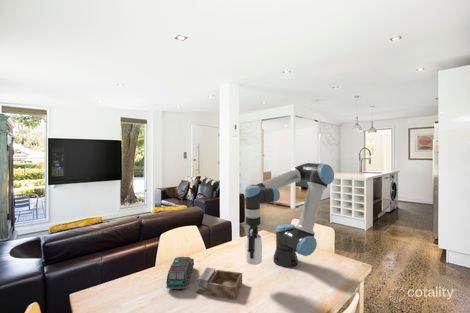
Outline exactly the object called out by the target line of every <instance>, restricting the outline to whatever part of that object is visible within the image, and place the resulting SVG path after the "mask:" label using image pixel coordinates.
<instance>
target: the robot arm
mask: <svg viewBox="0 0 470 313" xmlns="http://www.w3.org/2000/svg"><path fill="white" fill-rule="evenodd" d="M334 179H335V172H334V169H333V167H332V166H331V165H329V164H326V163H316V162H315V163H314V162H313V163H312V162H307V163H303V164H300V165H297V166H295V167H292V168H291V169H290V170H289V171H287V172H284V173H281V174H279V175H277V176H274V177H272V178H269V179H267V180H263V181H262V182H259V183H256V184H249V185H248V186H246V187H245V190H244V192H245V193H244V197H245V199H244V200H245V202H244V203H245V209H244V212H245V224H246V225H247V226H249V228H248V234H249V247H248V252H249V259H250V264H249V265H251V264H254V265H253V266H256V265H255V250H254V248H255V238H257V234H258V235H259V230H258V228H259V227H258V226H260V225H261V205H263V204H268V203H275V202H278V201H279V200H280V198H281V194H280V190H279V189H282V188H284V187H286V186H289V185H291V184H294V183H300V182H306V183H307V185H308V188H307V190H306V195H305V199H304V202H303V206H302V210H301V214H300V217H299V220H298V224H297V225H295V224H292V223H291V224H290V223H285V224H284V223H283V224H278V225H277V226H276V228H275V240H276V241H275V251H274V253H273V263H274V264H276V265H277V266H280V267H284V268H292V267H296V266H297V265H298V264H299V258H298V256H297V254H298V255H301V256H303V257H308V256H310V255H312V254H313V253H314V252H315V251H316V249H317V245H318V242H317V239H316V238H315V231H314V228H315V223H316V219H317V216H318V212H319V208H320V204H321V200H322V197H323V193H324V190H325V189H327V188H328V185H331V184H332V183H333V181H334Z"/></svg>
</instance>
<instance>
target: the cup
mask: <svg viewBox="0 0 470 313" xmlns="http://www.w3.org/2000/svg"><path fill="white" fill-rule="evenodd" d="M244 247H245V260H246V263H247V264H248V265H251V266H256V265H260V264H261V263H262V261H263V260H262V259H263V241H262V236H261V234H259V233H258V234H257V238H255V248H254V250H255V265H254V264H250V259H249V252H248V247H249V233H248V234H247V235H246V236H245V246H244Z"/></svg>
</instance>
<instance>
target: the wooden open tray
mask: <svg viewBox="0 0 470 313" xmlns="http://www.w3.org/2000/svg"><path fill="white" fill-rule="evenodd" d="M242 285H243V272H237V271H230V270H229V271H228V270H223V269H222V270H221V269H216V268H214V267H206V268H205V269H204V270H203V272H202V273H201V274H200V275H199V277H198V279H197V288H196V290H195V293H196V294H200V295H207V296H213V297H214V296H215V297H220V298H226V299H232V300H236V299H237V297H238V294H239V292H240V290H241V288H242Z"/></svg>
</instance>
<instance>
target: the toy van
mask: <svg viewBox="0 0 470 313" xmlns="http://www.w3.org/2000/svg"><path fill="white" fill-rule="evenodd" d="M194 261H195V259H194V258H191V257H190V256H178V257H175V258H174V259H173V262H172V263H171V265H170V267H169V270H168V271H167V276H166V282H165V283H166V286H165V288H166V290H167V289H169V290H172V289H173V290H174V289H175V290H177V289H181V290H182V289H184V290H185V289H187V288H188V286H189V281H190V278H191V275H192V272H193V271H194V265H195V262H194Z"/></svg>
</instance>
